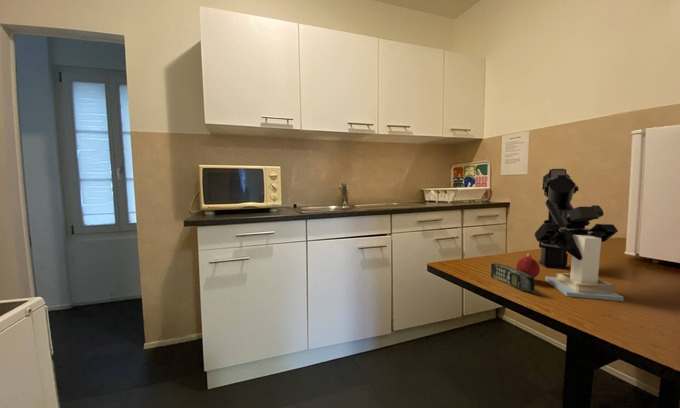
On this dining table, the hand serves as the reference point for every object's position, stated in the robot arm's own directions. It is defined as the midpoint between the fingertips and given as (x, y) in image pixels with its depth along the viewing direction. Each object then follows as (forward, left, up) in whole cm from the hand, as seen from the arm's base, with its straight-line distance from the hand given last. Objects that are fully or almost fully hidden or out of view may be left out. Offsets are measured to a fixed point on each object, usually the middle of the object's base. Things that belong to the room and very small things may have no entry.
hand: (589, 259), depth 74 cm
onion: (-12, +5, -9) cm, 16 cm away
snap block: (0, +1, -7) cm, 7 cm away
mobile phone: (-17, 0, -9) cm, 20 cm away
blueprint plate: (-1, +1, -9) cm, 9 cm away
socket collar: (0, +1, -9) cm, 9 cm away
